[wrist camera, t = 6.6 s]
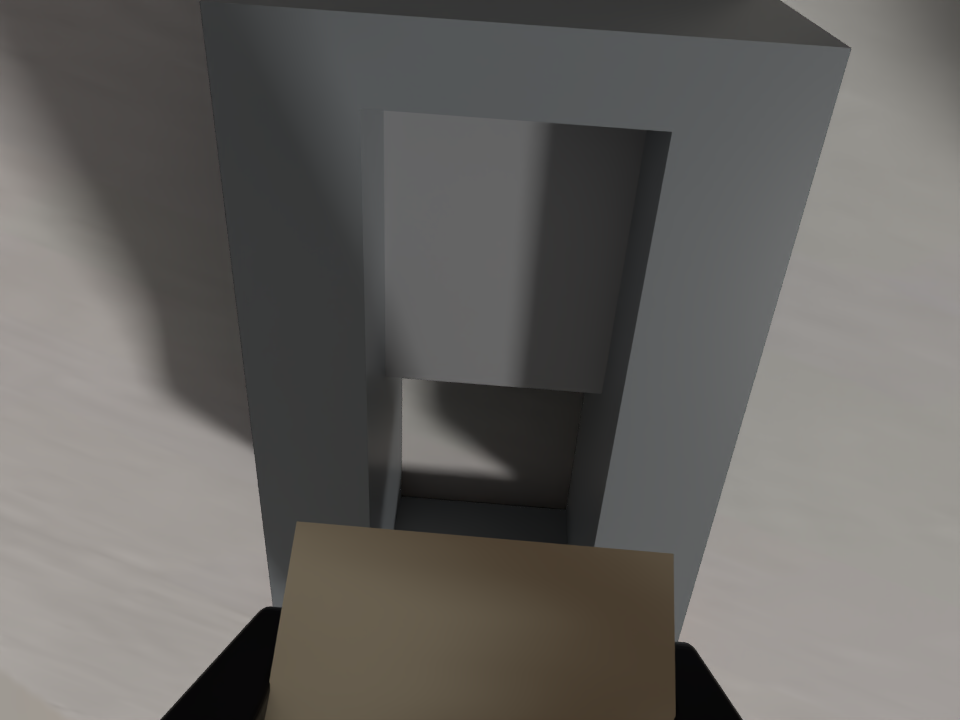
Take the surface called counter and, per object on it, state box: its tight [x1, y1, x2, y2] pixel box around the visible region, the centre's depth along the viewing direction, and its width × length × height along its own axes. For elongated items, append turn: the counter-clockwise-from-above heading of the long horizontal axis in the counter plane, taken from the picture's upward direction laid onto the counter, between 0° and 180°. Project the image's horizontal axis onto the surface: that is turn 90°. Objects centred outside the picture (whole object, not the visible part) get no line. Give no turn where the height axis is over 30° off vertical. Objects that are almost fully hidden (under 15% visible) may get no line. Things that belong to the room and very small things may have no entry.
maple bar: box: [265, 521, 676, 720], centre depth 14 cm, size 4×12×3 cm
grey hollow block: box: [200, 0, 851, 642], centre depth 20 cm, size 17×10×6 cm, turn 177°
